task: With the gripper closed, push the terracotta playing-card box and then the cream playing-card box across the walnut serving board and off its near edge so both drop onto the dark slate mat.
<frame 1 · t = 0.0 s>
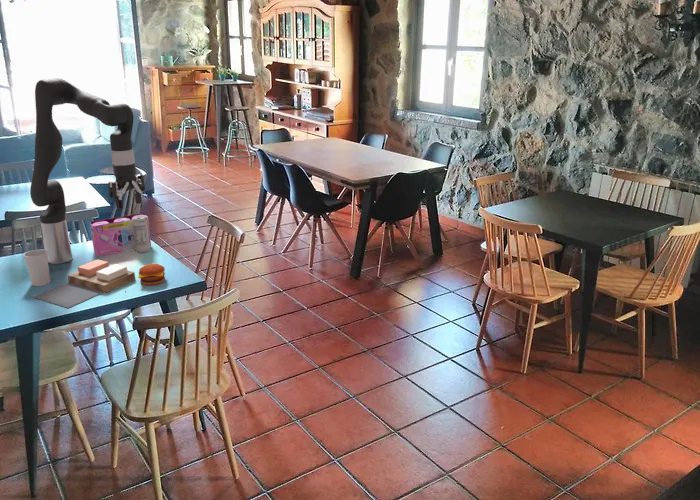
hand: (129, 206, 218), 29 cm above the table, fingers open, 8 cm apart
gum box: (123, 249, 261), on the table
walnut board: (102, 281, 228), on the table
slate mat: (68, 294, 216), on the table
cup: (41, 283, 226), on the table
energy drink can: (143, 251, 258), on the table
terracotta card box: (94, 270, 230), point 3 cm above the table, touching walnut board
cream card box: (112, 275, 225), point 3 cm above the table, touching walnut board
hamburger: (152, 281, 228), on the table
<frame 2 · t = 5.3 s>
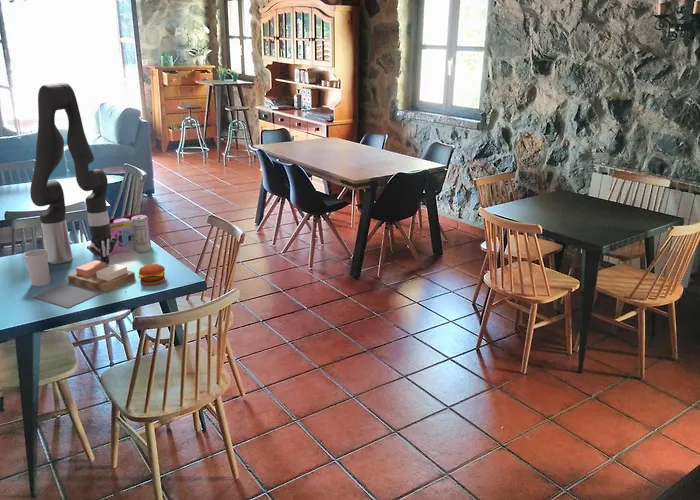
hand: (105, 264, 234), 4 cm above the table, fingers closed
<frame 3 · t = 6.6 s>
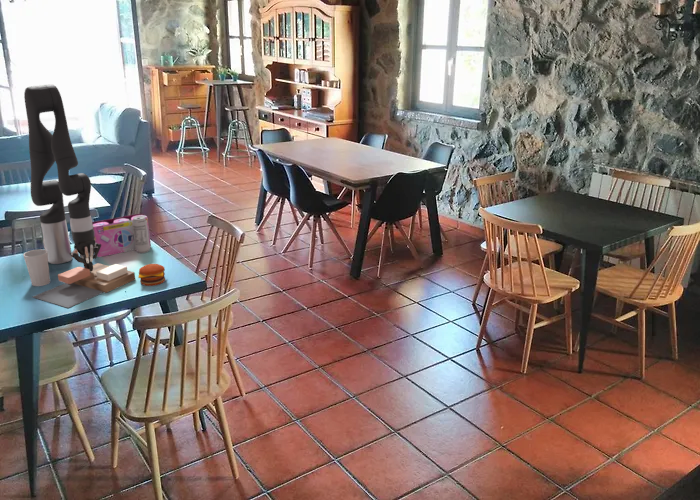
hand: (89, 271, 227), 4 cm above the table, fingers closed
terracotta card box: (74, 278, 223), point 3 cm above the table, touching walnut board
everything else where it was.
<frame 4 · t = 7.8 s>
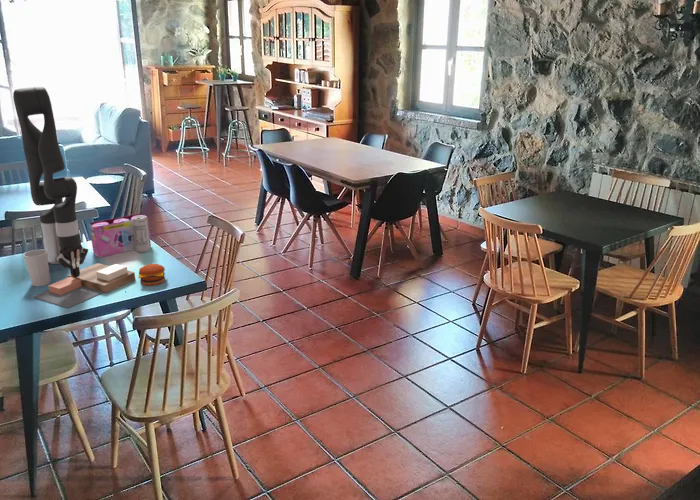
hand: (75, 276, 223), 4 cm above the table, fingers closed
terracotta card box: (65, 288, 220), resting on slate mat
everything else where it was.
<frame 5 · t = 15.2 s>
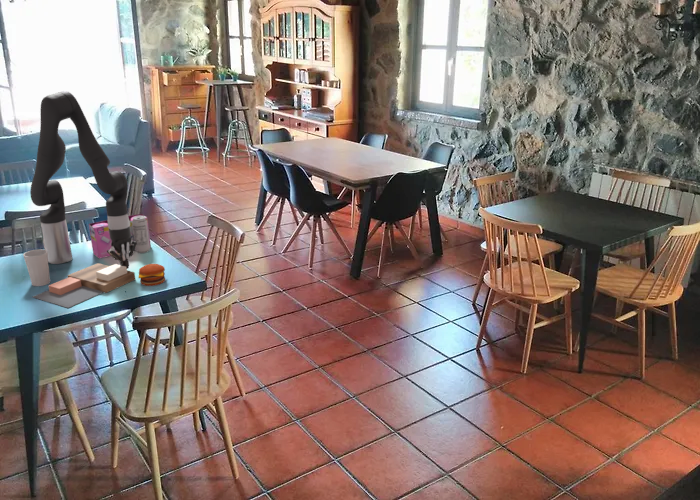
hand: (125, 268, 230), 4 cm above the table, fingers closed
cream card box: (112, 275, 225), point 3 cm above the table, touching gripper, walnut board
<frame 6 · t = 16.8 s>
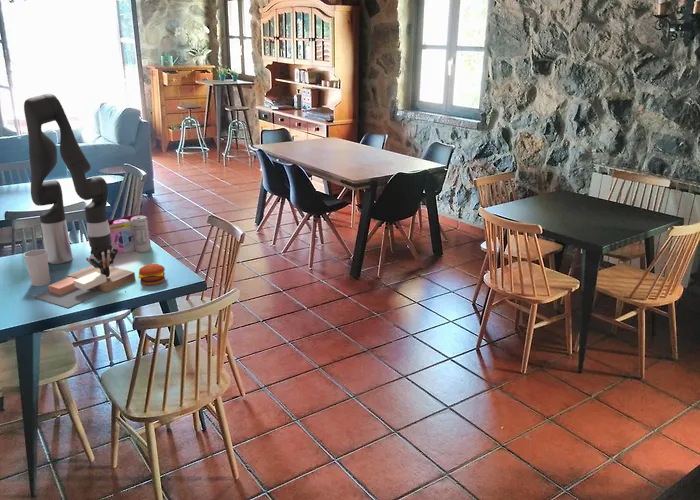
hand: (105, 276, 222), 4 cm above the table, fingers closed
cream card box: (91, 284, 218), point 3 cm above the table, touching walnut board
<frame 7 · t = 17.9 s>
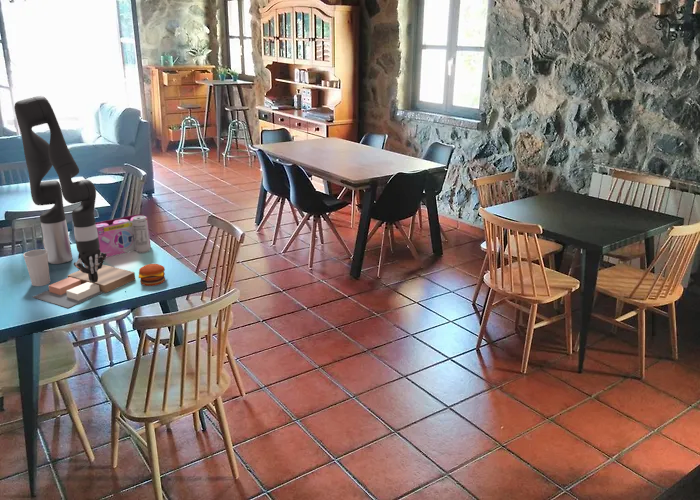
hand: (93, 281, 218), 4 cm above the table, fingers closed
cream card box: (83, 294, 216), resting on slate mat
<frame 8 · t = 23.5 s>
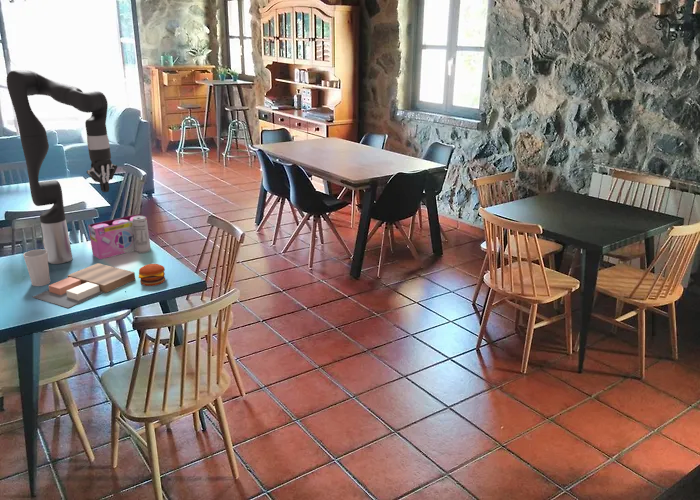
hand: (105, 191, 231), 31 cm above the table, fingers closed
at the end: terracotta card box inside the target area on the slate mat (5.4 cm from its centre), point 0.3 cm above the slate mat's base; cream card box inside the target area on the slate mat (5.6 cm from its centre), point 0.3 cm above the slate mat's base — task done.
